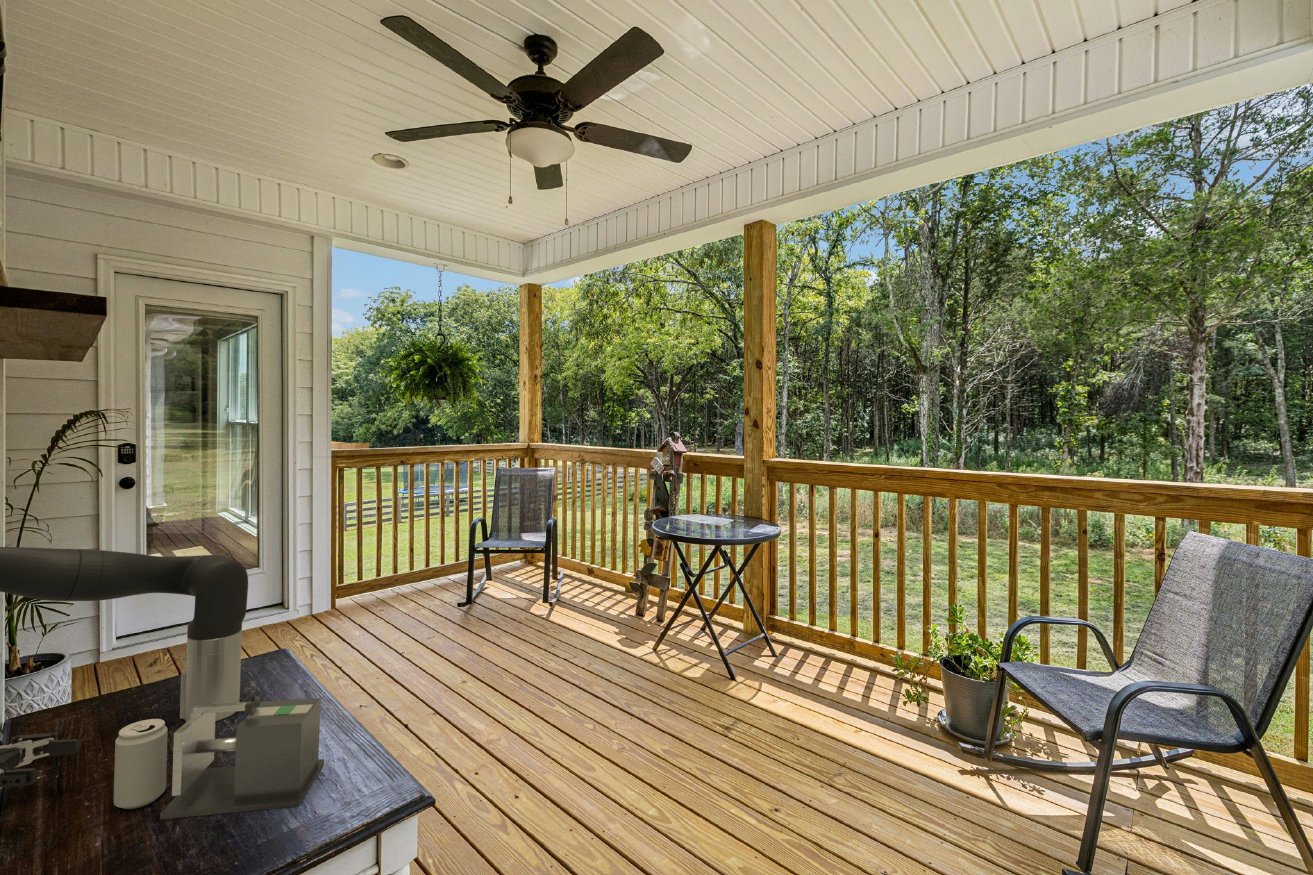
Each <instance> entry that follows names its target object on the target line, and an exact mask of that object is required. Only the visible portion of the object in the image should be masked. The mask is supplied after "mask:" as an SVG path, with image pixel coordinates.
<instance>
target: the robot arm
mask: <svg viewBox="0 0 1313 875" xmlns="http://www.w3.org/2000/svg"><path fill="white" fill-rule="evenodd" d="M0 593H5V594H10V595H14V596H19V597H23V598H30V599H35V600H42V601H54V602H94V601H96V602H97V601H107V600H115V599H120V598H121V599H122V598H126V597H127V598H128V597H131V596H136V595H142V594H143V595H145V594H170V595H171V594H173V595H175V594H176V595H183V596H191V597H194V610H193V612H194V613H193V619H192V620H190V621H189V623H188V625H187V629H186V630H187V633H186V639H187V640H186V666H185V669H186V670H184V671H182V673H181V675H180V698H179V699H180V701H179V706H180V707H179V719H182V720H184V721H185V723H186V722H187V721H188V720H189V719H191V713H192V712H193V708H194V707H195V706H196V705H207V704H208V703H216V704H225V703H240V696H241V695H240V694H241V691H240V690H241V667H242V666H241V663H242V630H243V621H244V619H245V617H246V614H247V606H248V593H249V576H248V571H247V569H246V568H245V566H244V564H242V563H241V562H239V561H237V560H235V559H233V558H230V557H227V556H225V555H219V554H206V555H205V554H204V555H203V554H201V555H183V556H179V555H178V556H160V555H159V556H157V555H152V554H151V555H149V554H141V553H135V552H125V551H113V550H102V549H81V548H53V547H47V548H46V547H26V546H25V547H22V546H21V547H20V546H19V547H18V546H16V547H14V546H0ZM237 712H238V711H234V712H217V713H216V714H215V722H217V721H220V720H223V719H226V718H228V717H230V716H232V715H235V713H237ZM58 736H59V733H58V732H46V733H44V732H43V733H33V734H32V733H31V734H20V735H15V736H12V737H11V742H10V744H3V745H0V790H1V789H3V788H10V787H23V786H31V785H33V784H34V783H36V782H37V780H38V769H37V768H36V767H33V768H32V767H31V768H30V767H29V768H19V767H22V766H26V765H29V764H31V763H32V762H33V760H37V759H40V758H43V757H48V756H49V757H51V756H53V757H54V756H64V755H65V756H67V755H75V754H76V753H78V752H79V751H80V750H81V749H80V747H81V746H80V745H81V741H80V739H78V738H72V739H71V738H70V739H58ZM35 752H36V753H35ZM23 753H24V754H25V756H24V757H23V758H22V759H21V755H22V754H23ZM15 768H16V769H15Z"/></svg>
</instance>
